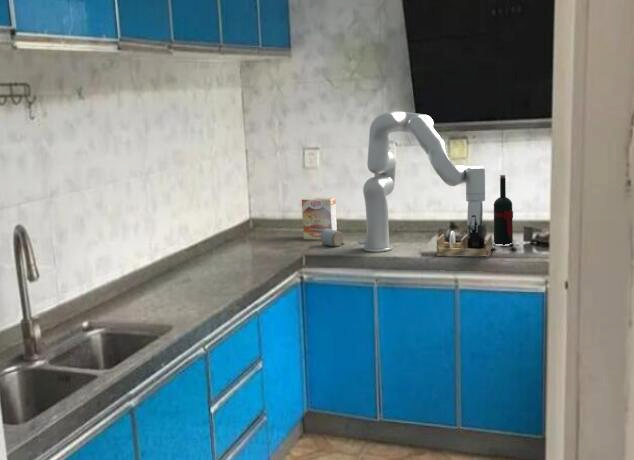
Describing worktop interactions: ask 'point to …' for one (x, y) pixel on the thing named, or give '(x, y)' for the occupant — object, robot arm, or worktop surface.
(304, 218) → the coffeecake box
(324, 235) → the ceramic mug
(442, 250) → the rack
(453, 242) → the plate
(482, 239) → the supplement bottle
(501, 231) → the wine bottle
